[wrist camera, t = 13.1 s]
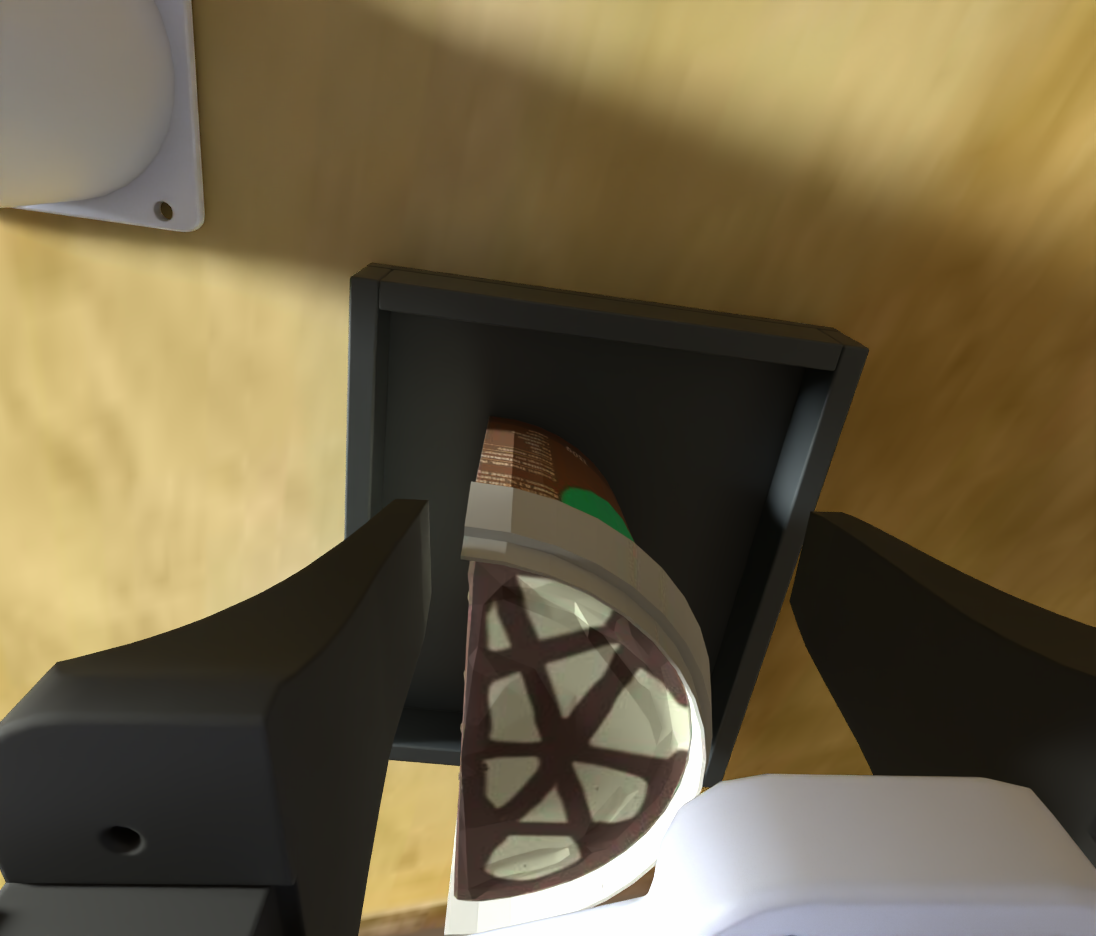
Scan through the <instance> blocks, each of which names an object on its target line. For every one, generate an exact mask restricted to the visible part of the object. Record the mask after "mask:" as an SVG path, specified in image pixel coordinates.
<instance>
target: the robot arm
mask: <svg viewBox="0 0 1096 936" xmlns="http://www.w3.org/2000/svg"><path fill="white" fill-rule="evenodd" d="M163 202H165V203H168V205H169V206H170V207H171V208H172V211H173V215H172V218H171V219H170V220H169V219H167V218H165V217H164V216H163V215H162V212H161V209H160V208H161V204H162V203H163ZM7 207H9V208H16V209H23V210H30V211H37V212H44V213H52V214H59V215H66V216H73V217H80V218H87V219H94V220H101V221H108V222H115V223H122V224H130V225H137V226H144V227H151V228H158V229H165V230H172V231H179V232H191V231H195V230H197V229H199V228H201V226H202V224H203V223H204V218H205V210H204V194H203V178H202V162H201V146H200V130H199V114H198V98H197V82H196V66H195V50H194V34H193V18H192V2H191V0H0V208H7ZM430 598H431V562H430V530H429V500H420V499H395V500H393V501H392V502H391V503H389V504H388V505H387V506H386V507H384V508H383V509H382V510H381V511H380V512H378V513H377V514H376V515H375V516H374V517H372V518H371V519H370V520H369V521H368V522H366V523H365V524H364V525H363V526H361V527H360V528H359V529H358V530H356V531H355V532H354V533H353V534H351V535H350V536H349V537H348V538H346V539H345V540H344V541H342V542H341V543H340V544H338V545H337V546H335V547H334V548H333V549H331V550H330V551H328V552H327V553H325V554H324V555H323V556H321V557H320V558H318V559H317V560H315V561H314V562H312V563H311V564H310V565H308V566H307V567H305V568H304V569H302V570H300V571H299V572H297V573H296V574H294V575H292V576H291V577H289V578H287V579H285V580H284V581H282V582H280V583H278V584H276V585H274V586H273V587H271V588H269V589H267V590H265V591H264V592H262V593H260V594H258V595H256V596H254V597H251V598H249V599H247V600H245V601H242V602H240V603H238V604H236V605H234V606H231V607H229V608H227V609H225V610H222V611H220V612H218V613H216V614H213V615H211V616H209V617H206V618H204V619H201V620H199V621H196V622H193V623H191V624H188V625H185V626H183V627H180V628H177V629H174V630H171V631H168V632H165V633H162V634H159V635H156V636H153V637H150V638H147V639H144V640H141V641H137V642H134V643H131V644H127V645H123V646H119V647H116V648H112V649H108V650H104V651H100V652H96V653H93V654H89V655H85V656H81V657H77V658H74V659H69V660H65V661H60V662H57V663H56V664H55V665H54V666H53V667H52V668H51V669H50V670H49V671H48V672H47V673H46V674H45V675H44V676H43V677H42V678H41V679H40V680H39V681H38V682H37V684H36V685H35V686H34V687H33V688H32V689H31V690H30V691H29V692H28V693H27V694H26V695H25V696H24V697H23V698H22V700H21V701H20V702H19V703H18V704H17V705H16V706H15V707H14V708H13V709H12V710H11V711H10V712H9V713H8V714H7V715H6V717H5V718H4V719H3V720H2V721H1V722H0V870H1V873H2V875H3V877H4V879H5V882H6V883H5V885H4V886H3V887H2V889H1V890H0V936H358V933H359V927H360V921H361V914H362V908H363V902H364V896H365V890H366V884H367V877H368V871H369V865H370V860H371V854H372V848H373V843H374V837H375V831H376V826H377V820H378V814H379V809H380V803H381V798H382V793H383V787H384V782H385V777H386V771H387V766H388V761H389V757H390V753H391V749H392V745H393V741H394V737H395V733H396V730H397V727H398V723H399V720H400V717H401V713H402V710H403V707H404V704H405V700H406V697H407V694H408V690H409V687H410V684H411V680H412V677H413V674H414V671H415V667H416V664H417V660H418V657H419V654H420V650H421V647H422V643H423V640H424V636H425V630H426V624H427V618H428V612H429V605H430ZM790 604H791V607H792V610H793V613H794V616H795V619H796V622H797V625H798V628H799V630H800V633H801V635H802V638H803V641H804V643H805V646H806V648H807V650H808V652H809V654H810V656H811V658H812V659H813V661H814V663H815V665H816V667H817V669H818V671H819V673H820V674H821V676H822V678H823V680H824V682H825V684H826V686H827V687H828V689H829V691H830V693H831V695H832V697H833V698H834V700H835V702H836V704H837V706H838V707H839V709H840V711H841V713H842V715H843V717H844V718H845V720H846V722H847V724H848V726H849V728H850V729H851V731H852V733H853V735H854V737H855V739H856V740H857V742H858V744H859V746H860V748H861V750H862V752H863V754H864V756H865V758H866V760H867V762H868V764H869V766H870V769H871V771H872V773H873V775H818V774H762V775H756V776H750V777H744V778H739V779H733V780H727V781H721V782H719V783H718V784H716V785H714V786H713V787H711V788H709V789H708V790H706V791H705V792H703V793H701V794H700V795H698V796H696V797H695V798H693V799H692V800H690V801H688V802H687V803H685V804H684V805H683V806H681V807H680V808H679V809H678V811H677V813H676V814H675V816H674V818H673V820H672V821H671V823H670V825H669V827H668V829H667V830H666V832H665V834H664V836H663V838H662V839H661V841H660V845H659V851H658V857H657V863H656V869H655V875H654V879H653V882H652V885H651V887H650V890H649V893H648V894H647V895H645V896H643V897H638V898H634V899H630V900H625V901H620V902H616V903H611V904H607V905H602V906H598V907H593V908H589V909H584V910H580V911H575V912H570V913H566V914H561V915H557V916H552V917H548V918H543V919H539V920H534V921H530V922H525V923H521V924H516V925H512V926H507V927H502V928H498V929H493V930H489V931H484V932H480V933H475V934H471V935H466V936H1096V628H1095V627H1092V626H1089V625H1086V624H1083V623H1081V622H1078V621H1075V620H1072V619H1069V618H1067V617H1064V616H1061V615H1059V614H1056V613H1054V612H1051V611H1049V610H1046V609H1044V608H1041V607H1039V606H1036V605H1034V604H1031V603H1029V602H1026V601H1024V600H1021V599H1019V598H1016V597H1014V596H1012V595H1010V594H1007V593H1005V592H1003V591H1001V590H998V589H996V588H994V587H992V586H990V585H988V584H986V583H983V582H981V581H979V580H977V579H975V578H973V577H971V576H969V575H967V574H965V573H963V572H961V571H959V570H957V569H955V568H953V567H951V566H949V565H947V564H945V563H943V562H941V561H939V560H937V559H935V558H933V557H931V556H929V555H927V554H926V553H924V552H922V551H920V550H918V549H916V548H914V547H912V546H910V545H909V544H907V543H905V542H903V541H901V540H899V539H897V538H895V537H894V536H892V535H890V534H888V533H886V532H884V531H882V530H880V529H878V528H876V527H874V526H872V525H870V524H868V523H866V522H864V521H862V520H860V519H858V518H856V517H853V516H851V515H848V514H845V513H843V512H814V511H810V516H809V520H808V524H807V528H806V533H805V537H804V541H803V546H802V550H801V554H800V559H799V563H798V567H797V571H796V576H795V580H794V584H793V589H792V593H791V597H790Z"/></svg>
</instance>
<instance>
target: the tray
mask: <svg viewBox="0 0 1096 936" xmlns="http://www.w3.org/2000/svg"><path fill="white" fill-rule="evenodd" d="M868 352H869V348H867V347H865V346H864V345H862V344H860V343H858V342H857V341H855V340H853V339H851V338H850V337H848V336H846V335H844V334H843V333H841V332H840V331H838V330H836V329H835V328H831V327H824V326H817V325H810V324H803V323H796V322H789V321H782V320H775V319H767V318H760V317H753V316H746V315H739V314H732V313H725V312H718V311H711V310H703V309H696V308H689V307H682V306H675V305H668V304H661V303H654V302H646V301H639V300H632V299H625V298H618V297H611V296H604V295H597V294H590V293H582V292H575V291H568V290H561V289H554V288H547V287H540V286H533V285H526V284H518V283H511V282H504V281H497V280H490V279H483V278H476V277H469V276H462V275H454V274H447V273H440V272H433V271H426V270H419V269H412V268H405V267H397V266H390V265H383V264H376V263H370V264H369V265H367V267H365V268H363V269H362V270H360V271H359V272H357V273H356V274H354V275H353V276H351V278H350V296H349V344H348V393H347V441H346V490H345V538H344V540H345V539H346V538H348V537H349V536H350V535H351V534H353V533H354V532H355V531H356V530H358V529H359V528H360V527H361V526H363V525H364V524H365V523H366V522H368V521H369V520H370V519H371V518H372V517H374V516H375V515H376V514H377V513H378V512H380V511H381V510H382V509H383V508H384V507H386V506H387V505H388V504H389V503H391V502H392V501H393V500H395V499H420V500H429V530H430V562H431V598H430V605H429V612H428V618H427V624H426V630H425V636H424V640H423V643H422V647H421V650H420V654H419V657H418V660H417V664H416V667H415V671H414V674H413V677H412V680H411V684H410V687H409V690H408V694H407V697H406V700H405V704H404V707H403V710H402V713H401V717H400V720H399V723H398V727H397V730H396V733H395V737H394V741H393V745H392V749H391V753H390V757H389V760H397V761H409V762H420V763H432V764H443V765H455V766H460V757H461V740H462V732H461V730H460V726H461V723H462V722H463V705H464V686H465V682H464V671H465V661H466V641H467V625H468V608H469V601H468V592H469V580H468V570H469V564H470V560H463V559H461V551H462V545H463V539H464V526H465V519H466V513H467V506H468V499H469V492H470V486H471V482H476V477H477V473H478V468H479V463H480V458H481V453H482V449H483V444H484V439H485V434H486V430H487V425H488V420H489V416H494V417H501V418H508V419H515V420H519V421H522V422H525V423H529V424H532V425H535V426H538V427H541V428H543V429H545V430H547V431H549V432H551V433H554V434H556V435H558V436H560V437H561V438H563V439H564V440H566V441H567V442H569V443H570V444H572V445H573V446H575V447H576V448H578V449H579V450H580V451H581V452H582V453H583V454H584V455H585V456H586V457H587V458H589V459H590V460H591V461H592V462H593V463H594V464H595V466H596V467H597V468H598V470H599V471H600V472H601V473H602V475H603V476H604V477H605V478H606V480H607V482H608V484H609V486H610V488H611V489H612V491H613V493H614V495H615V497H616V500H617V502H618V504H619V507H620V509H621V511H622V514H623V516H624V519H625V521H626V523H627V526H628V528H629V530H630V533H631V535H632V538H633V540H634V542H635V544H636V545H637V546H639V547H640V548H641V549H642V550H643V551H644V552H645V553H646V554H647V555H648V556H650V557H651V558H652V559H653V560H654V561H655V562H656V563H657V564H658V565H659V566H661V567H662V568H663V570H664V571H665V572H666V574H667V575H668V576H669V578H670V579H671V580H672V581H673V583H674V584H675V585H676V587H677V588H678V589H679V590H680V592H681V593H682V594H683V596H684V597H685V599H686V601H687V603H688V605H689V607H690V609H691V611H692V613H693V615H694V617H695V619H696V620H697V622H698V624H699V626H700V629H701V632H702V636H703V640H704V643H705V647H706V650H707V654H708V658H709V667H710V682H711V705H712V742H711V749H710V755H709V762H708V767H707V769H706V772H705V775H704V778H703V784H702V787H709V788H711V787H713V786H714V785H716V784H718V783H719V782H721V781H722V779H723V777H724V774H725V771H726V768H727V765H728V762H729V759H730V756H731V753H732V750H733V747H734V744H735V741H736V738H737V736H738V733H739V730H740V727H741V724H742V721H743V718H744V715H745V712H746V709H747V706H748V703H749V700H750V698H751V695H752V692H753V689H754V686H755V683H756V680H757V677H758V674H759V671H760V668H761V665H762V662H763V659H764V657H765V654H766V651H767V648H768V645H769V642H770V639H771V636H772V633H773V630H774V627H775V624H776V621H777V619H778V616H779V613H780V610H781V607H782V604H783V601H784V598H785V595H786V592H787V589H788V586H789V583H790V580H791V578H792V575H793V572H794V569H795V566H796V563H797V560H798V557H799V554H800V551H801V548H802V545H803V541H804V537H805V533H806V528H807V524H808V520H809V516H810V511H814V510H815V507H816V504H817V501H818V499H819V496H820V493H821V490H822V487H823V484H824V481H825V478H826V475H827V472H828V469H829V466H830V463H831V461H832V458H833V455H834V452H835V449H836V446H837V443H838V440H839V437H840V434H841V431H842V428H843V425H844V422H845V420H846V417H847V414H848V411H849V408H850V405H851V402H852V399H853V396H854V393H855V390H856V387H857V384H858V382H859V379H860V376H861V373H862V370H863V367H864V364H865V361H866V358H867V355H868Z"/></svg>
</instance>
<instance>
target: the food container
mask: <svg viewBox="0 0 1096 936" xmlns="http://www.w3.org/2000/svg"><path fill="white" fill-rule="evenodd" d="M461 559H463V560H470V564H469V570H468V580H469V592H468V601H469V608H468V625H467V641H466V661H465V671H464V682H465V686H464V705H463V722H462V723H461V726H460V730H461V732H462V740H461V757H460V772H459V780H460V782H459V799H458V812H457V822H456V831H455V840H454V849H453V858H452V867H451V876H450V885H449V895H448V904H447V913H446V922H445V931H444V936H466V935H471V934H475V933H480V932H484V931H489V930H493V929H498V928H502V927H507V926H512V925H516V924H521V923H525V922H530V921H534V920H539V919H543V918H548V917H552V916H557V915H561V914H566V913H570V912H575V911H580V910H584V909H589V908H592V907H594V906H596V905H598V904H600V903H602V902H604V901H606V900H608V899H610V898H611V897H613V896H614V895H616V894H618V893H619V892H621V891H622V890H624V889H626V888H627V887H629V886H630V885H632V884H633V883H635V882H636V881H637V880H638V879H639V878H641V877H642V876H643V875H644V874H645V873H646V872H648V871H649V870H650V869H651V868H652V867H654V866H655V865H656V863H657V857H658V851H659V845H660V841H661V839H662V838H663V836H664V834H665V832H666V830H667V829H668V827H669V825H670V823H671V821H672V820H673V818H674V816H675V814H676V813H677V811H678V809H679V808H680V807H681V806H683V805H684V804H685V803H687V802H688V801H690V800H692V799H693V798H695V797H696V796H698V795H700V792H701V789H702V784H703V778H704V775H705V772H706V769H707V767H708V762H709V755H710V749H711V742H712V705H711V682H710V667H709V658H708V654H707V650H706V647H705V643H704V640H703V636H702V632H701V629H700V626H699V624H698V622H697V620H696V619H695V617H694V615H693V613H692V611H691V609H690V607H689V605H688V603H687V601H686V599H685V597H684V596H683V594H682V593H681V592H680V590H679V589H678V588H677V587H676V585H675V584H674V583H673V581H672V580H671V579H670V578H669V576H668V575H667V574H666V572H665V571H664V570H663V568H662V567H661V566H659V565H658V564H657V563H656V562H655V561H654V560H653V559H652V558H651V557H650V556H648V555H647V554H646V553H645V552H644V551H643V550H642V549H641V548H640V547H639V546H637V545H636V544H635V542H634V540H633V538H632V535H631V533H630V530H629V528H628V526H627V523H626V521H625V519H624V516H623V514H622V511H621V509H620V507H619V504H618V502H617V500H616V497H615V495H614V493H613V491H612V489H611V488H610V486H609V484H608V482H607V480H606V478H605V477H604V476H603V475H602V473H601V472H600V471H599V470H598V468H597V467H596V466H595V464H594V463H593V462H592V461H591V460H590V459H589V458H587V457H586V456H585V455H584V454H583V453H582V452H581V451H580V450H579V449H578V448H576V447H575V446H573V445H572V444H570V443H569V442H567V441H566V440H564V439H563V438H561V437H560V436H558V435H556V434H554V433H551V432H549V431H547V430H545V429H543V428H541V427H538V426H535V425H532V424H529V423H525V422H522V421H519V420H515V419H508V418H501V417H494V416H489V420H488V425H487V430H486V434H485V439H484V444H483V449H482V453H481V458H480V463H479V468H478V473H477V477H476V482H471V486H470V492H469V499H468V506H467V513H466V519H465V526H464V539H463V545H462V551H461Z"/></svg>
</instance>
